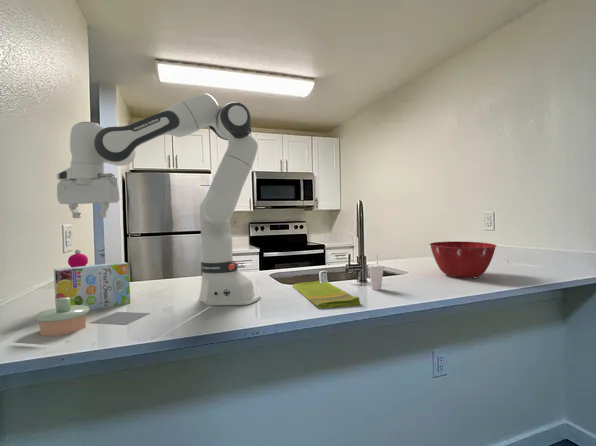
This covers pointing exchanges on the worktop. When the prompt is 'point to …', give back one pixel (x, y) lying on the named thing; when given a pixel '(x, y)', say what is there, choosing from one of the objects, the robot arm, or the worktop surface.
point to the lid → (62, 311)
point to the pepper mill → (77, 259)
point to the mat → (120, 318)
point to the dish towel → (326, 295)
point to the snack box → (94, 285)
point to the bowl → (62, 326)
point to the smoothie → (376, 275)
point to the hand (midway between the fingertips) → (89, 217)
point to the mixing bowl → (463, 258)
